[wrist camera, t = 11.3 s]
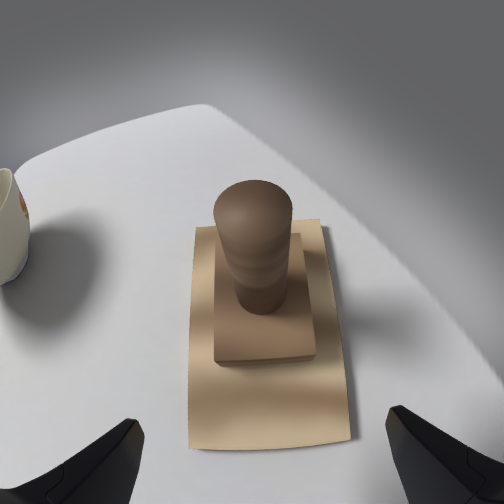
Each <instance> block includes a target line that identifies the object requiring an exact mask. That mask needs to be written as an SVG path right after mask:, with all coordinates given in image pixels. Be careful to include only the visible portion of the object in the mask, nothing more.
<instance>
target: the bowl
mask: <svg viewBox="0 0 504 504" xmlns="http://www.w3.org/2000/svg"><path fill="white" fill-rule="evenodd" d="M29 232H30V222H29V214H28V210H27V207H26V204H25V201H24V199H23V196H22V194H21V192H20V190H19V187H18V185H17V183H16V180H15V178H14V176H13V173H12V172H11V170H9V169H6V168H3V169H0V286H1V285H2V284H4V283H5V282H10V281H12V280H14V279H15V278H16V277H17V276H18V275H19V274H20V273H21V271H22V270H23V268H24V266H25V264H26V262H27V259H28V241H29Z"/></svg>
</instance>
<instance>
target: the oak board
mask: <svg viewBox="0 0 504 504" xmlns="http://www.w3.org/2000/svg"><path fill="white" fill-rule="evenodd" d="M291 233H300V235H301V241H302V247H303V254H304V260H305V267H306V274H307V281H308V288H309V296H310V303H311V311H312V319H313V327H314V336H315V345H316V356H315V357H314V358H313V360H312V361H303V362H292V363H280V364H266V365H247V366H219V365H218V364H217V363H216V362H215V361H214V276H215V240H216V239H220V237H219V233H218V230H217V226H208V227H196V234H195V246H194V259H193V273H192V288H191V306H190V329H189V362H188V434H189V448H193V449H211V450H264V449H281V448H294V447H304V446H312V445H320V444H327V443H334V442H340V441H345V440H351V437H350V422H349V409H348V398H347V387H346V378H345V369H344V360H343V352H342V345H341V337H340V330H339V323H338V316H337V310H336V304H335V297H334V291H333V286H332V280H331V274H330V269H329V263H328V258H327V253H326V248H325V243H324V238H323V233H322V228H321V224H320V219H309V220H292V223H291Z"/></svg>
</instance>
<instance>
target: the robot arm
mask: <svg viewBox="0 0 504 504" xmlns="http://www.w3.org/2000/svg"><path fill="white" fill-rule="evenodd" d="M385 426H386V431H387V435H388V439H389V443H390V447H391V452H392V456H393V460H394V463H395V466H396V468H397V471H398V474H399V476H400V479H401V482H402V485H403V488H404V490H405V493H406V496H407V499H408V502H409V504H504V464H503V463H501V462H498V461H496V460H494V459H491V458H489V457H487V456H485V455H483V454H481V453H479V452H477V451H475V450H474V449H472V448H470V447H467V445H465V444H463V443H462V442H460V441H458V440H457V439H455V438H453V437H452V436H450V435H448V434H447V433H445V432H443V431H442V430H440V429H438V428H437V427H435V426H434V425H432V424H430V423H429V422H427V421H426V420H424V419H422V418H421V417H419V416H418V415H416V414H415V413H413V412H411V411H410V410H408V409H407V408H405V407H404V406H402V405H398V406H394V407H391V408H390V410H389V413H388V416H387V419H386V423H385ZM144 438H145V437H144V432H143V430H142V428H141V426H140V424H139V422H138V421H137V420H136V419H130V418H127V419H125V420H124V421H122V422H121V423H120V424H118V425H117V426H115V427H114V428H113V429H111V430H110V431H108V432H107V433H106V434H104V435H103V436H101V437H100V438H99V439H97V440H96V441H94V442H93V443H91V444H90V445H89V446H87V447H86V448H84V449H83V450H81V451H80V452H78V453H77V454H75V455H74V456H72V457H71V458H69V459H68V460H66V461H65V462H64V463H62V464H60V465H59V466H57V467H56V468H54V469H52V470H51V471H49V472H47V473H45V474H44V475H42V476H40V477H38V478H36V479H33V480H31V481H29V482H27V483H25V484H23V485H20V486H18V487H15V488H11V489H0V504H129V502H130V498H131V495H132V492H133V488H134V485H135V482H136V478H137V475H138V471H139V467H140V461H141V455H142V450H143V444H144Z"/></svg>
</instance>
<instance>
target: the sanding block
mask: <svg viewBox="0 0 504 504" xmlns="http://www.w3.org/2000/svg"><path fill="white" fill-rule="evenodd" d="M213 212H214V219H215V223H216V226H217V230H218V233H219V237H220V239H216V240H215V276H214V361H215V362H216V363H217V364H218V365H219V366H247V365H266V364H280V363H292V362H303V361H312V360H313V358H314V357H315V356H316V345H315V336H314V327H313V319H312V311H311V303H310V296H309V288H308V281H307V274H306V267H305V260H304V254H303V247H302V241H301V235H300V233H291V223H292V202H291V200H290V197H289V196H288V194H287V193H286V192H285V191H284V190H283V189H282V188H280V187H279V186H277V185H275V184H273V183H271V182H267V181H262V180H248V181H243V182H239V183H236V184H234V185H232V186H230V187H229V188H227V189H226V190H225V191H223V192H222V193H221V195H220V196H219V197H218V199H217V200H216V202H215V205H214V211H213Z"/></svg>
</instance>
